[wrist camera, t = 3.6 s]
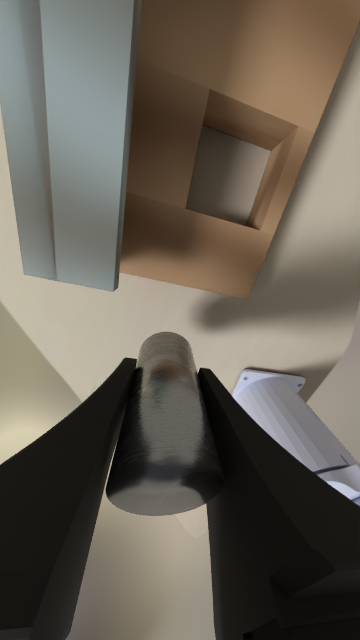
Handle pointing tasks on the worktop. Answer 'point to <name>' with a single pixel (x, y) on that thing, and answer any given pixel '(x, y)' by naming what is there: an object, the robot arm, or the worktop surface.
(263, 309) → the worktop surface
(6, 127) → the socket board
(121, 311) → the worktop surface
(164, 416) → the peg
